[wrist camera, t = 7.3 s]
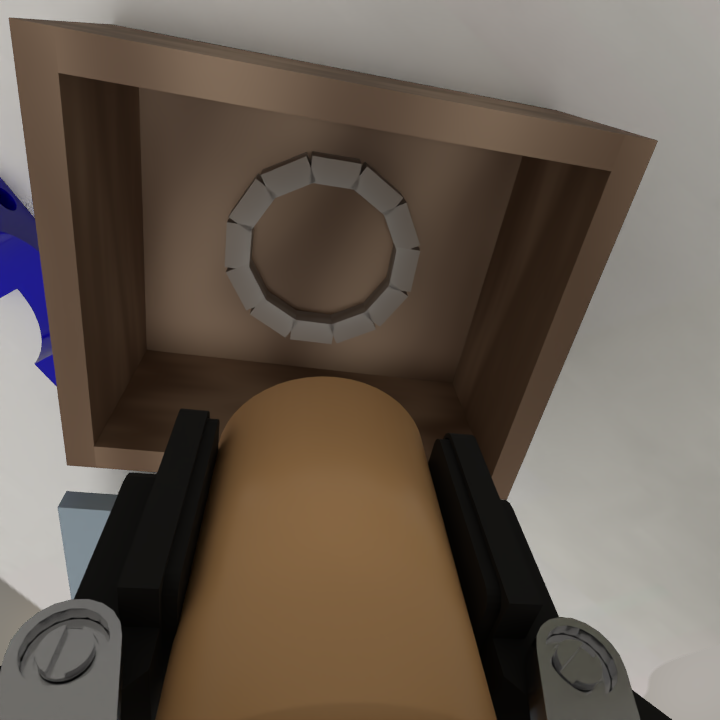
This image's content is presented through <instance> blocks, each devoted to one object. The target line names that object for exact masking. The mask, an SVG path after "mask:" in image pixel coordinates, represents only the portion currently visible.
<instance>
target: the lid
mask: <svg viewBox="0 0 720 720" xmlns="http://www.w3.org/2000/svg"><path fill="white" fill-rule="evenodd" d="M117 496H118V495H112V494H98V493H84V492H70V491H66V493H65V495H64V497H63V499H62V500H61V502H60V504H59V506H58V513H59V520H60V526H61V533H62V540H63V546H64V553H65V560H66V566H67V573H68V580H69V586H70V593H71V600H72V599H74V597H75V595H76V592H77V590H78V588H79V585H80V583H81V581H82V578H83V576H84V574H85V571H86V569H87V566H88V564H89V562H90V559H91V557H92V555H93V552H94V550H95V548H96V545H97V543H98V540H99V538H100V536H101V533H102V531H103V529H104V526H105V524H106V522H107V519H108V517H109V514H110V512H111V510H112V507H113V505H114V503H115V500H116V498H117Z"/></svg>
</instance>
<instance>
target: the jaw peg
mask: <svg viewBox="0 0 720 720" xmlns="http://www.w3.org/2000/svg"><path fill="white" fill-rule="evenodd" d="M155 720H497V718H496V714H495V710H494V707H493V703H492V699H491V696H490V692H489V688H488V685H487V681H486V677H485V673H484V670H483V666H482V662H481V659H480V655H479V651H478V647H477V644H476V640H475V636H474V633H473V629H472V625H471V622H470V618H469V614H468V610H467V607H466V603H465V599H464V596H463V592H462V588H461V584H460V581H459V577H458V573H457V570H456V566H455V562H454V558H453V555H452V551H451V547H450V544H449V540H448V536H447V533H446V529H445V525H444V521H443V518H442V514H441V510H440V507H439V503H438V499H437V495H436V492H435V488H434V484H433V481H432V477H431V473H430V470H429V466H428V462H427V458H426V455H425V451H424V447H423V444H422V440H421V437H420V433H419V430H418V428H417V426H416V424H415V422H414V420H413V419H412V417H411V416H410V415H409V413H408V412H407V411H406V410H405V409H404V408H403V406H402V405H401V404H400V403H399V402H397V401H396V400H395V399H393V398H392V397H391V396H389V395H388V394H386V393H384V392H383V391H381V390H379V389H377V388H375V387H373V386H370V385H368V384H365V383H362V382H358V381H355V380H351V379H345V378H339V377H324V376H321V377H306V378H300V379H295V380H290V381H287V382H284V383H280V384H277V385H275V386H273V387H270V388H268V389H266V390H264V391H262V392H260V393H259V394H257V395H255V396H253V397H252V398H251V399H250V400H248V401H247V402H246V403H244V404H243V405H242V406H241V407H240V408H239V409H238V410H237V411H236V412H235V413H234V414H233V416H232V417H231V418H230V420H229V421H228V423H227V424H226V426H225V428H224V430H223V432H222V434H221V438H220V441H219V444H218V453H217V457H216V461H215V466H214V470H213V475H212V479H211V484H210V488H209V492H208V497H207V501H206V506H205V510H204V514H203V519H202V523H201V528H200V532H199V536H198V541H197V545H196V550H195V554H194V558H193V563H192V567H191V572H190V576H189V581H188V585H187V589H186V594H185V598H184V603H183V607H182V611H181V616H180V620H179V625H178V629H177V632H176V635H175V638H174V641H173V644H172V649H171V653H170V657H169V662H168V666H167V670H166V675H165V679H164V683H163V688H162V692H161V697H160V701H159V705H158V710H157V714H156V718H155Z"/></svg>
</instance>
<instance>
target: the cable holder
mask: <svg viewBox="0 0 720 720" xmlns="http://www.w3.org/2000/svg"><path fill="white" fill-rule="evenodd" d="M15 289H18V290H19V291H20V292H21V294H22V295H23V296H24V297H25V299H26V300H27V302H28V303H29V305H30V306H31V308H32V310H33V312H34V313H35V316H36V318H37V320H38V323H39V326H40V330H41V336H42V347H41V352H40V355H39V357H38V359H37V361H36V362H35V365H36V366H37V367H38V368H39V369H40V370H41V371H42V372H43V373H44V374H45V375H46V376H47V377H48V378H49V379H50V380H51V381H52V382H53V383H54V384H55V385H56V386H57V384H56V376H55V368H54V361H53V353H52V345H51V338H50V330H49V322H48V315H47V307H46V299H45V292H44V284H43V276H42V269H41V261H40V253H39V246H38V238H37V230H36V223H35V218H34V217H33V216H32V215H31V213H30V212H29V211H28V210H27V209H26V207H25V206H24V205H23V204H22V203H21V201H20V200H19V199H18V198H17V197H16V195H15V194H14V193H13V192H12V191H11V189H10V188H9V187H8V186H7V185H6V183H5V182H4V181H3V180H2V179H1V178H0V298H1V297H3V296H4V295H6V294H8V293H10V292H12V291H13V290H15Z"/></svg>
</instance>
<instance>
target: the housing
mask: <svg viewBox="0 0 720 720" xmlns="http://www.w3.org/2000/svg"><path fill="white" fill-rule="evenodd" d="M9 24H10V31H11V39H12V47H13V54H14V62H15V70H16V77H17V85H18V93H19V100H20V108H21V116H22V123H23V131H24V139H25V146H26V154H27V161H28V169H29V177H30V184H31V192H32V200H33V207H34V215H35V223H36V230H37V238H38V246H39V253H40V261H41V269H42V276H43V284H44V292H45V299H46V307H47V315H48V322H49V330H50V338H51V345H52V353H53V361H54V368H55V376H56V384H57V391H58V399H59V407H60V414H61V422H62V430H63V437H64V445H65V453H66V460H67V465H70V466H83V467H96V468H109V469H121V470H134V471H147V472H158V469H159V466H160V464H161V461H162V458H163V455H164V452H165V449H166V447H167V444H168V441H169V438H170V435H171V433H172V430H173V427H174V424H175V421H176V418H177V416H178V413H179V411H180V409H181V408H182V409H193V410H204V411H209V412H210V418H211V419H219V421H220V424H219V441H220V438H221V434H222V432H223V430H224V428H225V426H226V424H227V423H228V421H229V420H230V418H231V417H232V416H233V414H234V413H235V412H236V411H237V410H238V409H239V408H240V407H241V406H242V405H243V404H244V403H246V402H247V401H248V400H250V399H251V398H252V397H253V396H255V395H257V394H259V393H260V392H262V391H264V390H266V389H268V388H270V387H273V386H275V385H277V384H280V383H284V382H287V381H290V380H295V379H300V378H306V377H321V376H324V377H339V378H345V379H351V380H355V381H358V382H362V383H365V384H368V385H370V386H373V387H375V388H377V389H379V390H381V391H383V392H384V393H386V394H388V395H389V396H391V397H392V398H393V399H395V400H396V401H397V402H399V403H400V404H401V405H402V406H403V408H404V409H405V410H406V411H407V412H408V413H409V415H410V416H411V417H412V419H413V420H414V422H415V424H416V426H417V428H418V430H419V433H420V437H421V440H422V444H423V447H424V451H425V455H426V458H427V462H429V459H430V455H431V452H432V449H433V446H434V443H435V441H436V439H443V438H444V436H445V434H446V433H456V434H467V435H473V436H474V437H475V438H476V440H477V443H478V445H479V448H480V450H481V453H482V455H483V458H484V460H485V463H486V465H487V468H488V470H489V473H490V475H491V477H492V480H493V482H494V485H495V487H496V490H497V492H498V495H499V497H500V499H504V500H507V498H508V495H509V493H510V490H511V488H512V486H513V483H514V481H515V479H516V476H517V474H518V471H519V469H520V467H521V464H522V462H523V460H524V457H525V455H526V453H527V450H528V448H529V445H530V443H531V441H532V438H533V436H534V434H535V431H536V429H537V426H538V424H539V422H540V419H541V417H542V415H543V412H544V410H545V407H546V405H547V403H548V400H549V398H550V396H551V393H552V391H553V388H554V386H555V384H556V381H557V379H558V377H559V374H560V372H561V369H562V367H563V365H564V362H565V360H566V358H567V355H568V353H569V350H570V348H571V346H572V343H573V341H574V339H575V336H576V334H577V331H578V329H579V327H580V324H581V322H582V320H583V317H584V315H585V313H586V310H587V308H588V305H589V303H590V301H591V298H592V296H593V294H594V291H595V289H596V286H597V284H598V282H599V279H600V277H601V275H602V272H603V270H604V267H605V265H606V263H607V260H608V258H609V256H610V253H611V251H612V248H613V246H614V244H615V241H616V239H617V237H618V234H619V232H620V229H621V227H622V225H623V222H624V220H625V218H626V215H627V213H628V210H629V208H630V206H631V203H632V201H633V199H634V196H635V194H636V192H637V189H638V187H639V184H640V182H641V180H642V177H643V175H644V173H645V170H646V168H647V165H648V163H649V161H650V158H651V156H652V154H653V151H654V149H655V146H656V144H657V142H658V141H657V140H654V139H650V138H647V137H644V136H640V135H637V134H634V133H630V132H627V131H624V130H620V129H617V128H614V127H610V126H607V125H604V124H600V123H597V122H593V121H590V120H587V119H583V118H580V117H577V116H573V115H570V114H567V113H563V112H560V111H557V110H552V109H547V108H541V107H536V106H531V105H526V104H521V103H515V102H510V101H505V100H500V99H495V98H490V97H484V96H479V95H474V94H469V93H464V92H458V91H453V90H448V89H443V88H438V87H433V86H427V85H422V84H417V83H412V82H407V81H401V80H396V79H391V78H386V77H381V76H376V75H370V74H365V73H360V72H355V71H350V70H344V69H339V68H334V67H329V66H324V65H319V64H313V63H308V62H303V61H298V60H293V59H287V58H282V57H277V56H272V55H267V54H262V53H256V52H251V51H246V50H241V49H236V48H231V47H225V46H220V45H215V44H210V43H205V42H199V41H194V40H189V39H184V38H179V37H174V36H168V35H163V34H158V33H153V32H148V31H142V30H137V29H132V28H127V27H122V26H117V25H110V24H95V23H81V22H66V21H51V20H37V19H22V18H9Z"/></svg>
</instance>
